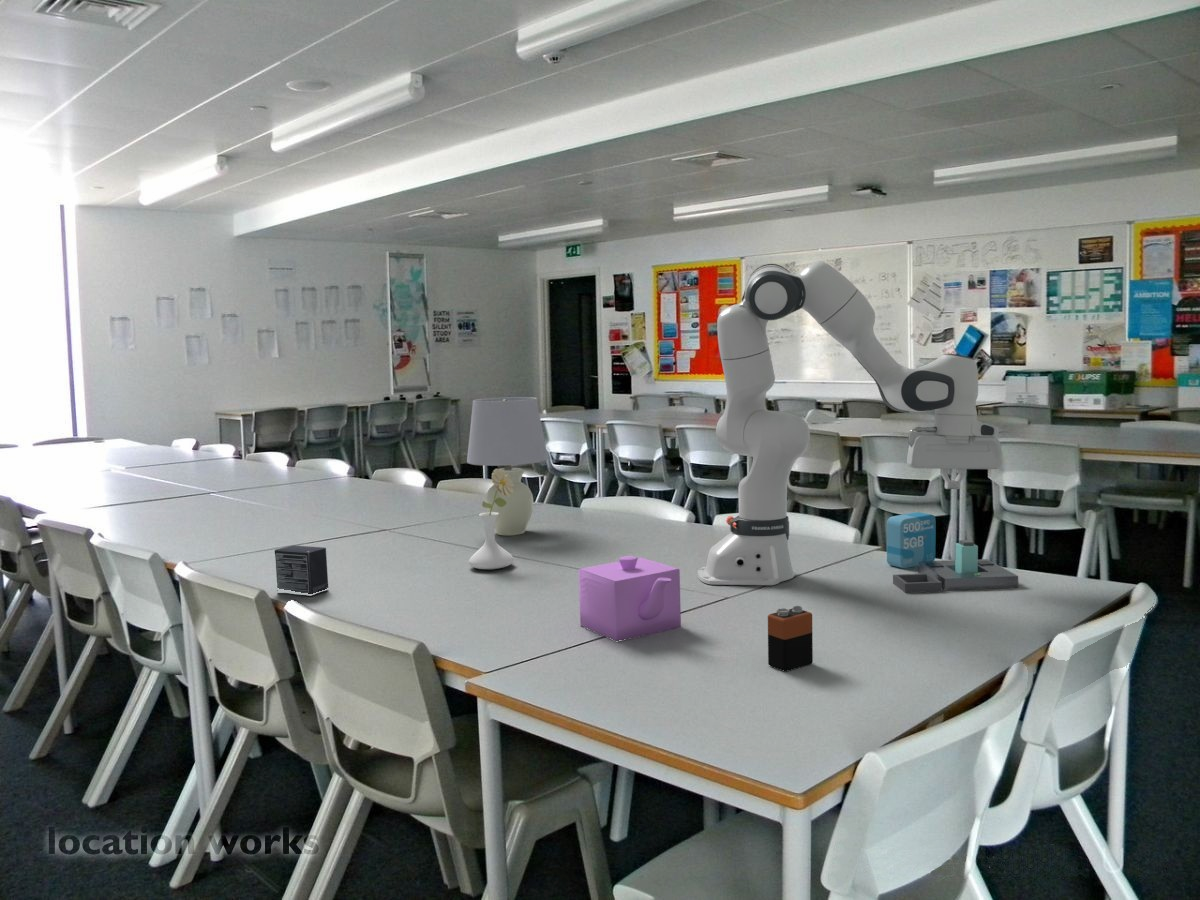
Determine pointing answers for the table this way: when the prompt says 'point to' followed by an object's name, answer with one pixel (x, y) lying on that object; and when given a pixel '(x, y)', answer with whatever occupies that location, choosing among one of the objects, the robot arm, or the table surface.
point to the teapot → (629, 598)
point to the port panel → (969, 575)
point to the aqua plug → (966, 557)
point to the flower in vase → (491, 551)
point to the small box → (301, 569)
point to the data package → (910, 539)
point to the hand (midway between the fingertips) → (952, 488)
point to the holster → (917, 583)
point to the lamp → (507, 453)
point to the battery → (790, 638)
